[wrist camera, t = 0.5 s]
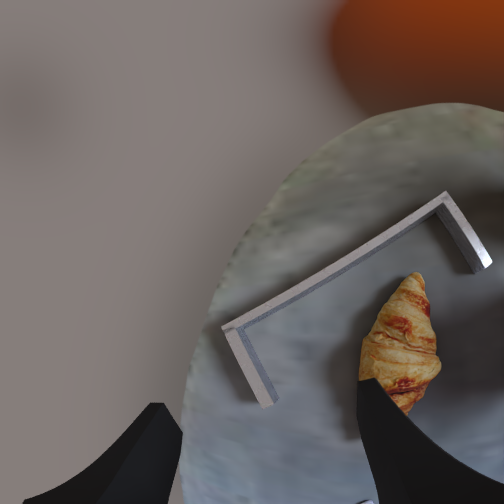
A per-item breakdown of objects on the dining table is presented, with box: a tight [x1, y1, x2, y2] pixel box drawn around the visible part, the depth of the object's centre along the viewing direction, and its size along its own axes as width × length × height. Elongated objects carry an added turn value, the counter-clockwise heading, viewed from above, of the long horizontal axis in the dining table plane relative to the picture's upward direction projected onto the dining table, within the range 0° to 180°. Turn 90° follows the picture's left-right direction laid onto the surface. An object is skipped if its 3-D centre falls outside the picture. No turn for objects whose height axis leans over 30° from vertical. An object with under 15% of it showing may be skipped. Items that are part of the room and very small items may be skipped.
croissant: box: [359, 272, 441, 416], centre depth 28 cm, size 21×10×8 cm, turn 166°
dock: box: [221, 191, 492, 409], centre depth 32 cm, size 11×33×4 cm, turn 117°
